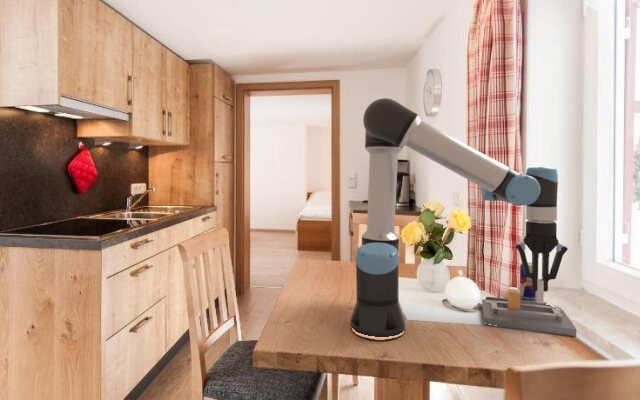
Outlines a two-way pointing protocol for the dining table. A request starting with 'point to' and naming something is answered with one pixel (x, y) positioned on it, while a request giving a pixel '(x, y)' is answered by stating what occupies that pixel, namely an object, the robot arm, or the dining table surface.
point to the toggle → (513, 298)
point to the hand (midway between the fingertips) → (539, 301)
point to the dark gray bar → (520, 302)
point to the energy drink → (526, 285)
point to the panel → (528, 317)
